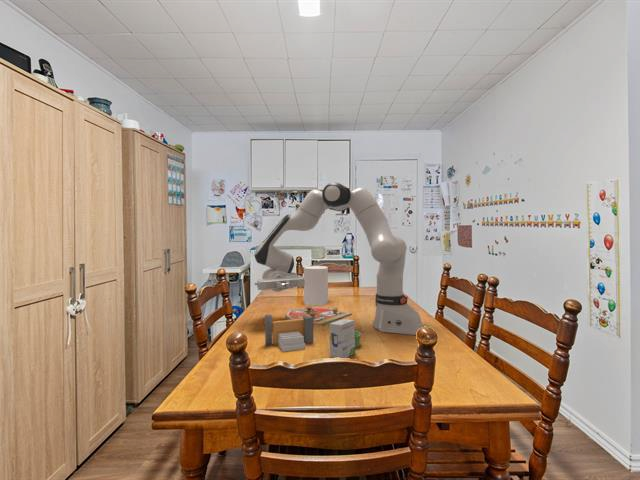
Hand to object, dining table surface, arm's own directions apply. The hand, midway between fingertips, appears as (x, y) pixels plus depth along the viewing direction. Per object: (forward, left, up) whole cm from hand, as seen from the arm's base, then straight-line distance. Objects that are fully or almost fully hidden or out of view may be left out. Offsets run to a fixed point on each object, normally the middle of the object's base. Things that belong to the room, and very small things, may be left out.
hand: (285, 285), depth 151 cm
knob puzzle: (+6, -30, -20) cm, 37 cm away
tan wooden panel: (-10, +10, -18) cm, 23 cm away
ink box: (-32, +11, -20) cm, 39 cm away
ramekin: (-29, 0, -20) cm, 35 cm away
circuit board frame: (-10, +11, -20) cm, 25 cm away
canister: (+18, -55, -20) cm, 61 cm away
